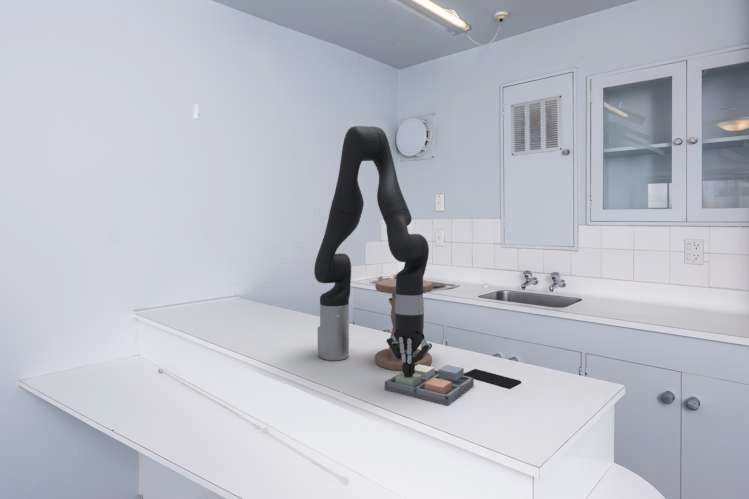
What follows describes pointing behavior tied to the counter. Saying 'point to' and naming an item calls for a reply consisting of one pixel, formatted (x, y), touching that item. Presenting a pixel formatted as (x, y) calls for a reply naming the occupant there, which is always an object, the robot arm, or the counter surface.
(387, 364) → the hourglass
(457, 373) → the slate key
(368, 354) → the counter surface
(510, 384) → the smartphone
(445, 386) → the terracotta key
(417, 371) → the cream key
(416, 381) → the sage key
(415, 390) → the keypad
